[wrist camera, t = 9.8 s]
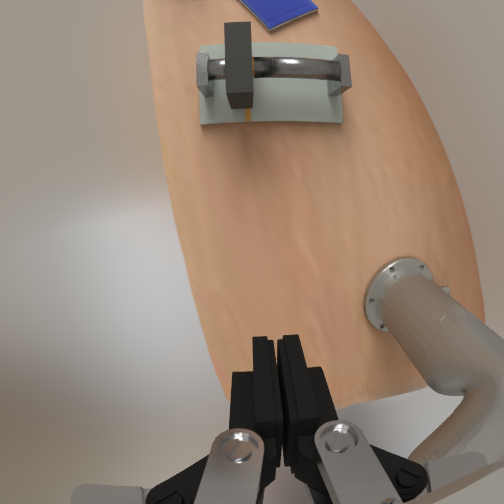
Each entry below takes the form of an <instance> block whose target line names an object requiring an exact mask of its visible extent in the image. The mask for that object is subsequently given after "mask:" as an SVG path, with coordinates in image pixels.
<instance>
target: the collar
mask: <svg viewBox="0 0 504 504" xmlns="http://www.w3.org/2000/svg"><path fill="white" fill-rule="evenodd" d="M224 31H225V79H226V95H227V98H228V101H229V104H230V107H231V109H245V108H252V107H253V94H254V88H253V65H252V43H251V22H230V23H224Z"/></svg>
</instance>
